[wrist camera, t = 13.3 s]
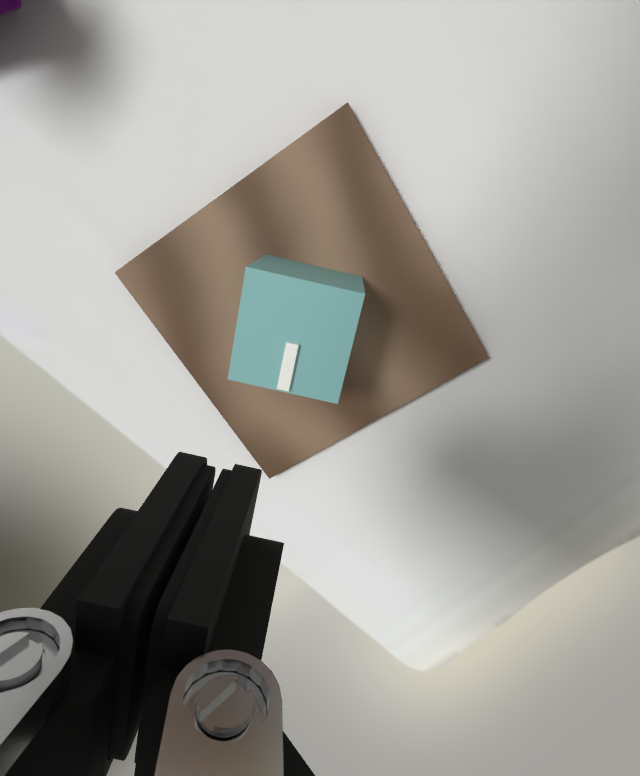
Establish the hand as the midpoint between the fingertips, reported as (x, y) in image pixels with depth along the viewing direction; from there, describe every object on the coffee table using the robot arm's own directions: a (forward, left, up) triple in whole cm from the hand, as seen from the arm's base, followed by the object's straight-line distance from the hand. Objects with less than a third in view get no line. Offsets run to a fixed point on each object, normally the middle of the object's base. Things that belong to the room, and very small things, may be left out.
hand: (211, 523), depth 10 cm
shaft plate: (0, 0, -22) cm, 22 cm away
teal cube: (0, 0, -21) cm, 21 cm away
